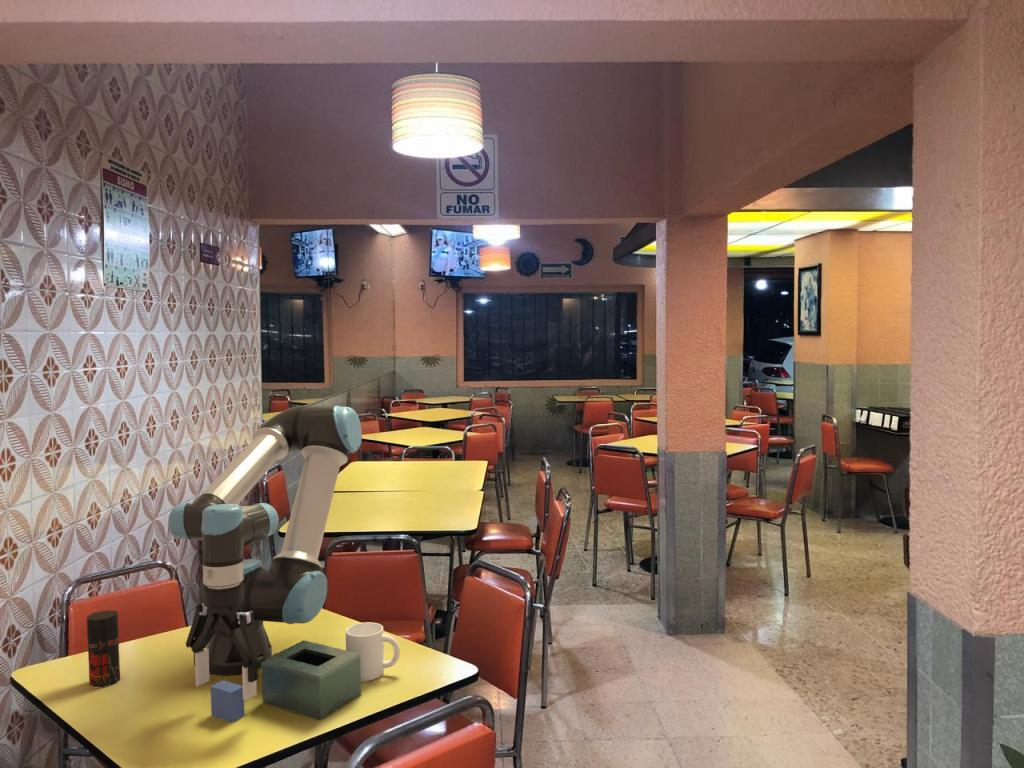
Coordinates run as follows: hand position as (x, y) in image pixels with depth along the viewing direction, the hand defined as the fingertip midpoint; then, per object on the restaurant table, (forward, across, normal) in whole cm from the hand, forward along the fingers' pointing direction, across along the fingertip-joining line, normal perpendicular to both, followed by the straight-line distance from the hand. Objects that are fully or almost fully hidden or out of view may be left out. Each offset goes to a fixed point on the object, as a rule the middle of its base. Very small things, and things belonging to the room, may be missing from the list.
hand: (225, 690), depth 146 cm
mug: (+5, +14, +29) cm, 32 cm away
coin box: (+5, +10, +14) cm, 18 cm away
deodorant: (+5, -37, -1) cm, 38 cm away
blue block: (+6, 0, +1) cm, 6 cm away
